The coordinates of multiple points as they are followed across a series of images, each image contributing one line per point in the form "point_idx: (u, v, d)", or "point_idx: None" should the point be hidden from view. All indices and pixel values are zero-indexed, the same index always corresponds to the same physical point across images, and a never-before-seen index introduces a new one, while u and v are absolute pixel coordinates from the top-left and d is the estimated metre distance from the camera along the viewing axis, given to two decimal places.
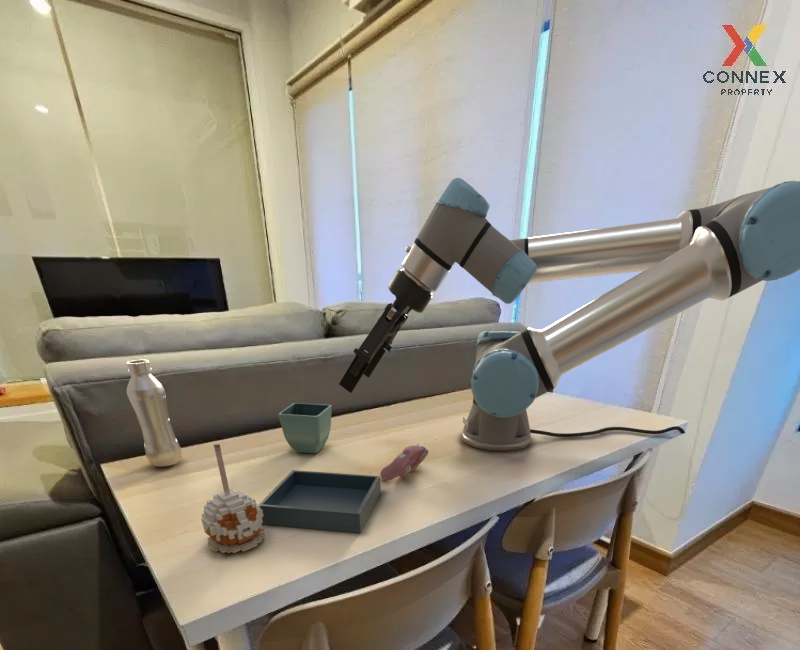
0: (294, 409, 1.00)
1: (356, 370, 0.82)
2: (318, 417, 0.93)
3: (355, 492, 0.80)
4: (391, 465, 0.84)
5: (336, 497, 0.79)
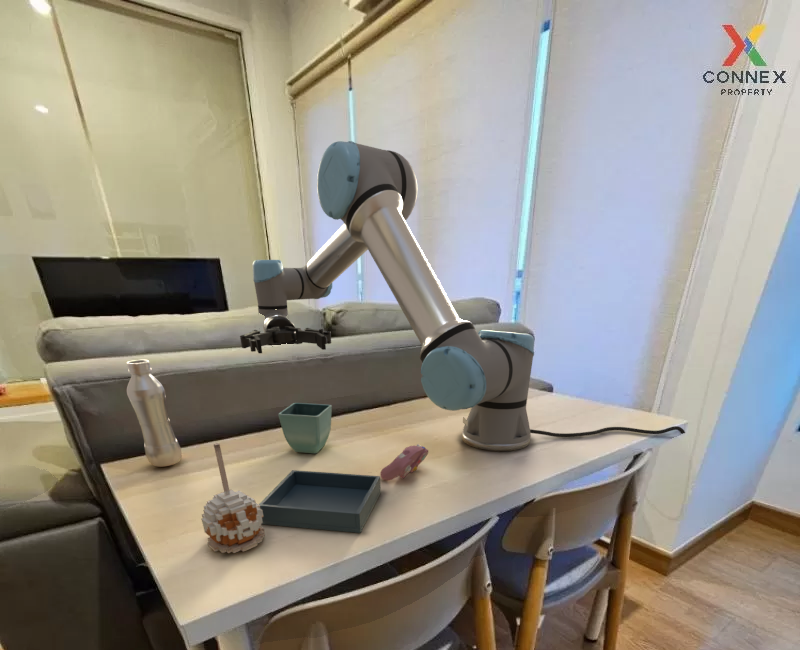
0: (294, 409, 1.00)
1: None
2: (318, 417, 0.93)
3: (355, 492, 0.80)
4: (391, 465, 0.84)
5: (336, 497, 0.79)
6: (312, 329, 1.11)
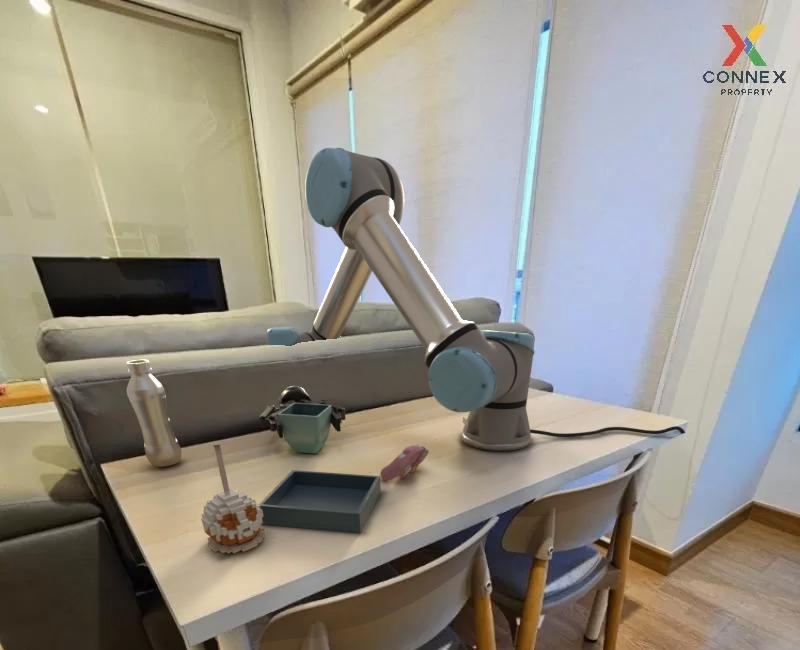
0: (294, 409, 1.00)
1: (270, 424, 0.96)
2: (318, 417, 0.93)
3: (355, 492, 0.80)
4: (391, 465, 0.84)
5: (336, 497, 0.79)
6: (328, 402, 1.07)
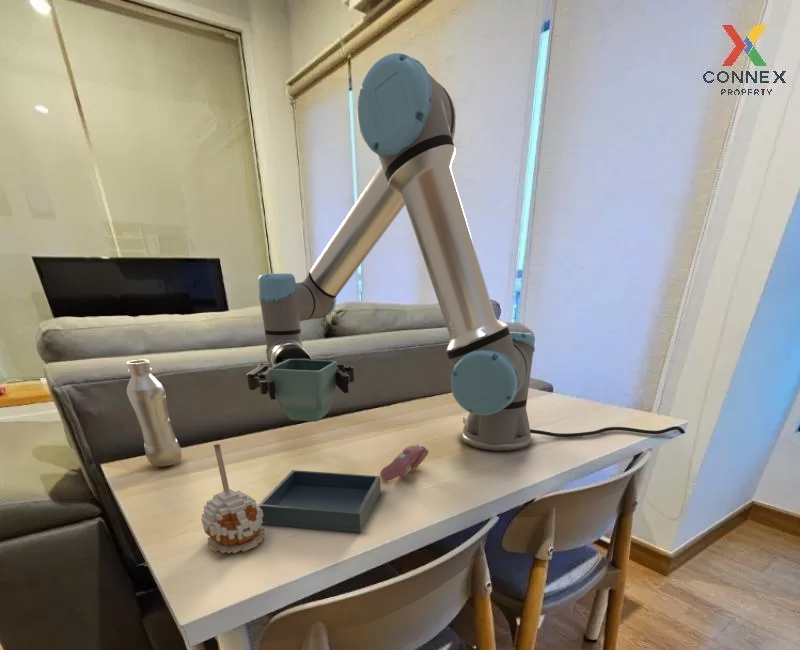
0: (290, 366, 0.80)
1: (260, 384, 0.76)
2: (320, 372, 0.73)
3: (355, 492, 0.80)
4: (391, 465, 0.84)
5: (336, 497, 0.79)
6: None
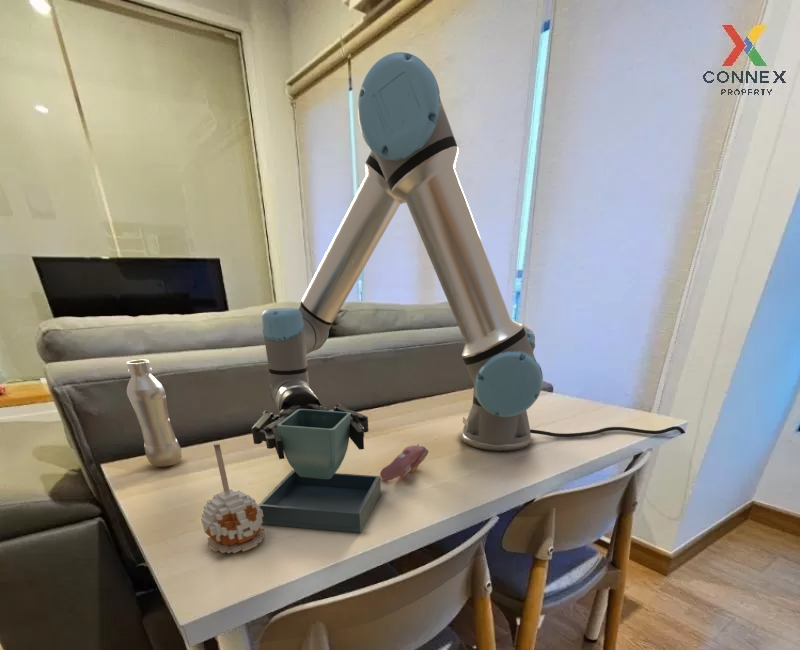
0: (299, 418, 0.73)
1: (267, 440, 0.69)
2: (334, 430, 0.66)
3: (355, 492, 0.80)
4: (391, 465, 0.84)
5: (336, 497, 0.79)
6: (344, 408, 0.80)
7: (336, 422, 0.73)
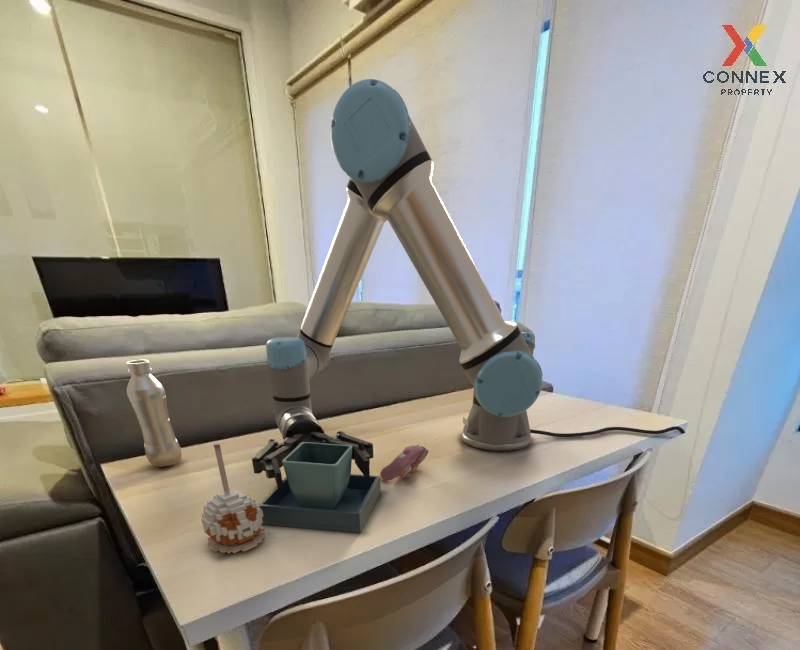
0: (302, 451, 0.76)
1: None
2: (336, 466, 0.68)
3: (355, 492, 0.80)
4: (391, 465, 0.84)
5: None
6: (347, 435, 0.83)
7: (338, 454, 0.76)
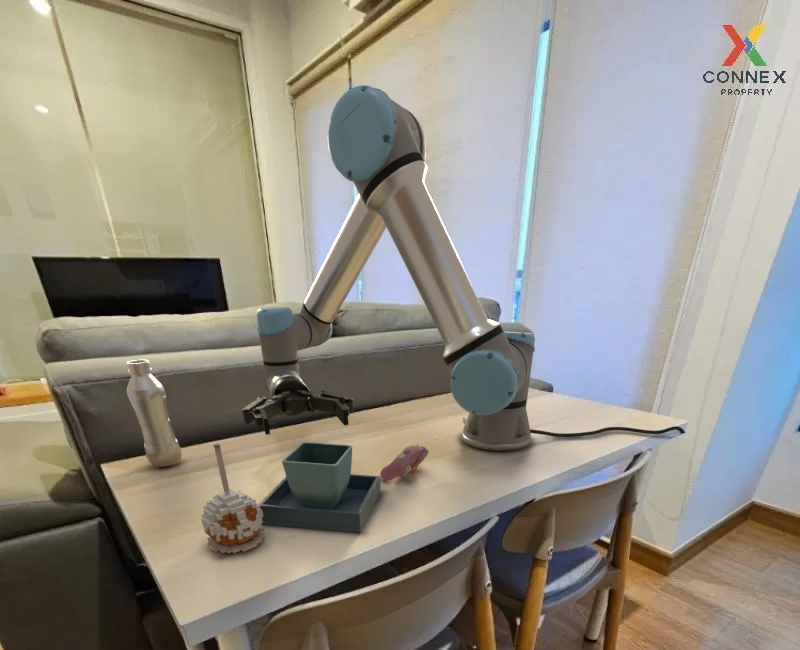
0: (302, 451, 0.76)
1: (255, 419, 0.80)
2: (336, 466, 0.68)
3: (355, 492, 0.80)
4: (391, 465, 0.84)
5: None
6: (329, 393, 0.91)
7: (338, 454, 0.76)
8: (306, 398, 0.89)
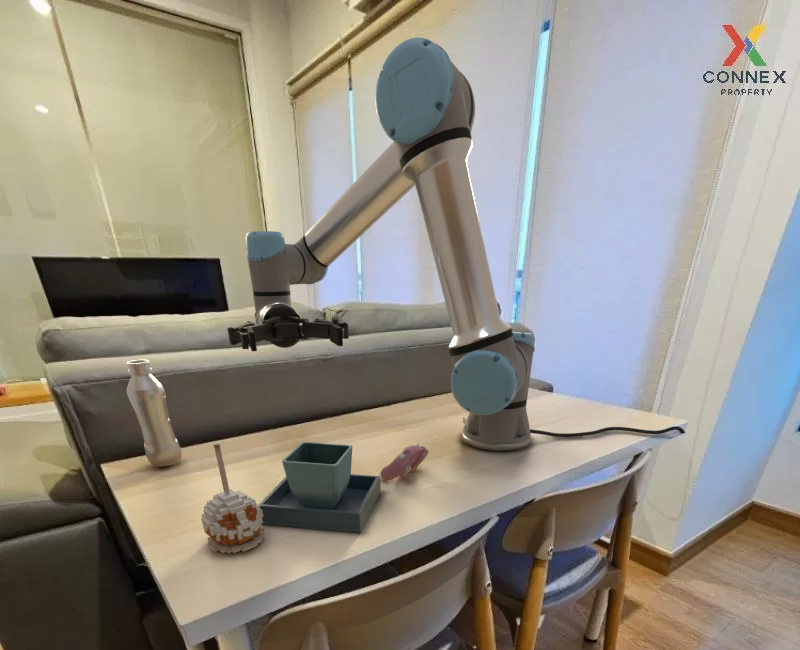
0: (302, 451, 0.76)
1: (241, 337, 0.74)
2: (336, 466, 0.68)
3: (355, 492, 0.80)
4: (391, 465, 0.84)
5: None
6: (323, 320, 0.85)
7: (338, 454, 0.76)
8: (298, 323, 0.83)
